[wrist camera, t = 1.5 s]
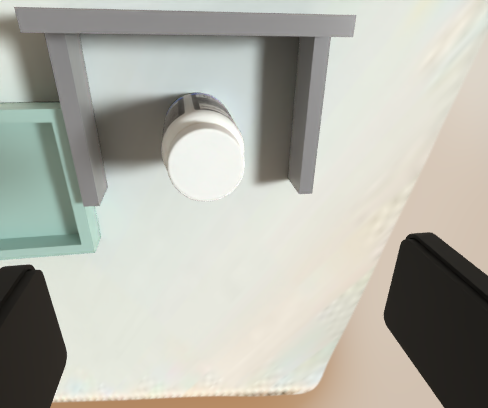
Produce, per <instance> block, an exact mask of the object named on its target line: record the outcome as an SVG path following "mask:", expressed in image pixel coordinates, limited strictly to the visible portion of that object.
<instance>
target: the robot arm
mask: <svg viewBox="0 0 488 408" xmlns="http://www.w3.org/2000/svg"><path fill="white" fill-rule="evenodd" d="M384 320H385V323H386V325H387V327H388V329H389V330H390V331H391V333H392V334H393V336H394V337H395V338H396V340H397V341H398V343H399V344H400V345H401V347H402V348H403V350H404V351H405V353H406V354H407V355H408V357H409V358H410V360H411V361H412V362H413V364H414V365H415V367H416V368H417V369H418V371H419V372H420V374H421V375H422V377H423V378H424V380H425V381H426V382H427V384H428V385H429V386H430V388H431V389H432V391H433V392H434V394H435V395H436V397H437V398H438V399H439V401H440V402H441V404H442V405H443V406H444V408H488V276H487V275H486V274H485V273H484V272H482V271H481V270H480V269H478V268H477V267H475V266H474V265H473V264H472V263H471V262H469V261H468V260H467V259H466V258H464V257H463V256H462V255H461V254H459V253H458V252H457V251H455V250H454V249H453V248H451V247H450V246H449V245H448V244H446V243H445V242H444V241H442V240H441V239H440V238H439V237H437V236H436V235H435V234H433V233H415V234H409V235H408V236H407V237H406V239H405V240H403V241H402V242H401V245H400V249H399V253H398V257H397V261H396V265H395V269H394V273H393V277H392V282H391V286H390V290H389V294H388V298H387V302H386V306H385V310H384ZM66 360H67V351H66V347H65V344H64V340H63V337H62V334H61V331H60V327H59V324H58V321H57V317H56V314H55V311H54V308H53V304H52V301H51V298H50V295H49V291H48V288H47V285H46V281H45V278H44V275H43V273H42V271H41V270H35V268H34V267H33V266H32V265H17V266H5V267H2V268H1V269H0V408H50V406H51V404H52V401H53V398H54V395H55V393H56V390H57V387H58V384H59V381H60V379H61V376H62V373H63V370H64V368H65V365H66Z"/></svg>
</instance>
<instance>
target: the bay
mask: <svg viewBox="0 0 488 408" xmlns="http://www.w3.org/2000/svg"><path fill="white" fill-rule="evenodd" d="M14 8H15V12H16V16H17V20H18V24H19V28H20V32H21V33H44V34H45V39H46V43H47V47H48V52H49V56H50V61H51V65H52V69H53V74H54V78H55V83H56V87H57V91H58V96H59V100H60V105H61V109H62V113H63V118H64V122H65V126H66V131H67V135H68V140H69V144H70V148H71V153H72V157H73V162H74V166H75V170H76V175H77V179H78V184H79V188H80V192H81V197H82V201H83V206H84V207H88V206H100V203H101V201H102V199H103V197H104V194H105V192H106V190H107V188H108V186H107V181H106V175H105V170H104V165H103V159H102V154H101V148H100V143H99V138H98V132H97V127H96V121H95V116H94V111H93V105H92V100H91V94H90V89H89V84H88V78H87V73H86V67H85V62H84V57H83V51H82V46H81V40H80V35H79V33H89V34H162V35H235V36H300V37H299V49H298V61H297V73H296V85H295V98H294V110H293V122H292V134H291V146H290V159H289V171H288V179H289V180H290V182H291V183H292V185H293V186H294V188H295V189H296V190H297V192H298V193H299V194H310V193H312V190H313V181H314V173H315V165H316V156H317V148H318V140H319V131H320V123H321V115H322V106H323V98H324V90H325V81H326V73H327V65H328V56H329V48H330V40H331V37H353V34H354V27H355V21H356V15H325V14H283V13H242V12H200V11H158V10H116V9H74V8H33V7H14Z"/></svg>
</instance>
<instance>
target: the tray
mask: <svg viewBox="0 0 488 408" xmlns="http://www.w3.org/2000/svg"><path fill="white" fill-rule="evenodd" d="M100 238H101V234H100V229H99V224H98V220H97V215H96V210H95V206H88V207H84V206H83V201H82V197H81V192H80V188H79V184H78V179H77V175H76V170H75V166H74V162H73V157H72V153H71V148H70V144H69V140H68V135H67V131H66V126H65V122H64V118H63V113H62V109H61V105H60V102H17V103H0V260H8V259H21V258H33V257H46V256H59V255H72V254H84V253H95V252H96V249H97V246H98V244H99V241H100Z"/></svg>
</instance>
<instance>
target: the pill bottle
mask: <svg viewBox="0 0 488 408" xmlns="http://www.w3.org/2000/svg"><path fill="white" fill-rule="evenodd" d="M161 152H162V159H163V162H164V165H165V167H166V169H167V171H168V175H169V177H170V180H171V182H172V184H173V185H174V186H175V188H176V189H177V190H178V191H179V192H180V193H182V194H183V195H184V196H186V197H188V198H190V199H193V200H197V201H214V200H218V199H221V198H223V197H225V196H227V195H228V194H230V193H231V192H232V191H233V190H234V189H235V188H236V187H237V186H238V184H239V183H240V181H241V179H242V177H243V174H244V169H245V160H244V142H243V138H242V135H241V133H240V131H239V129H238V127H237V126H236V124H235V122H234V121H233V119H232V117H231V115H230V114H229V112H228V110H227V109H226V108H225V106H224V105H223V104H222V103H221V102H220V101H219V100H218V99H216V98H215V97H213V96H211V95H208V94H205V93H191V94H187V95H184V96H182V97H180V98H179V99H177V100H176V101H175V102H174V103H173V104H172V105H171V107H170V108H169V110H168V112H167V115H166V118H165V123H164V129H163V139H162V145H161Z"/></svg>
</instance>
